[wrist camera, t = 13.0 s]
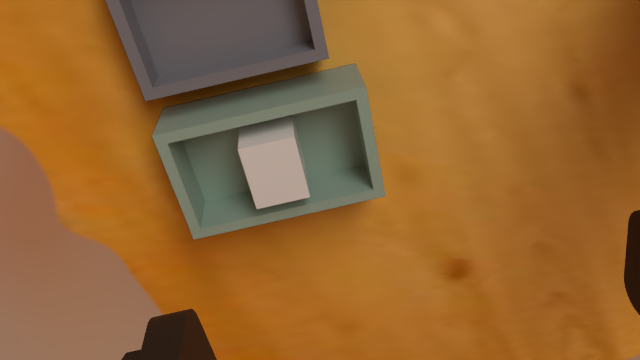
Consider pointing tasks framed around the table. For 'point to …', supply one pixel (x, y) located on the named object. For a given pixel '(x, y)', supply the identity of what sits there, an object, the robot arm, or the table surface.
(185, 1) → the charcoal tub
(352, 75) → the sage green bin
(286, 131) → the pale pink block
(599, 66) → the table surface
